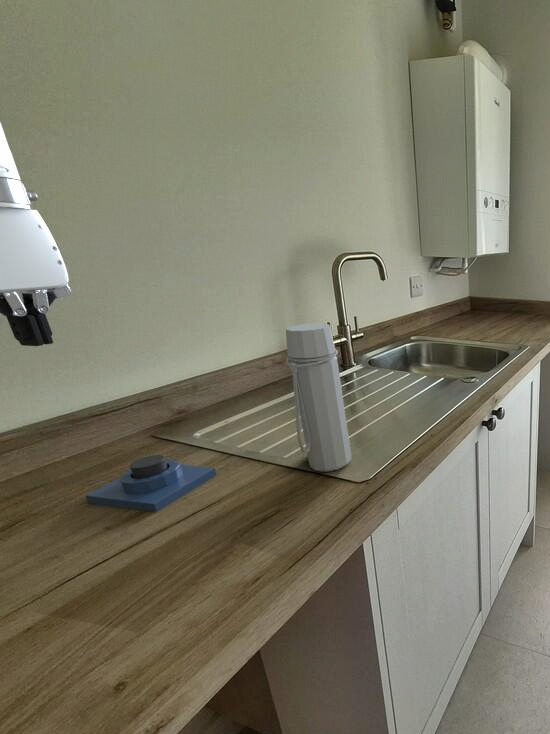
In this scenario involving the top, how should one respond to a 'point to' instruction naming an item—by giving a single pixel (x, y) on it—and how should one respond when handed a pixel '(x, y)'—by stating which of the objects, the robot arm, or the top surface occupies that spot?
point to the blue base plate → (152, 488)
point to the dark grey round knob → (148, 466)
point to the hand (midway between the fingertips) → (37, 344)
